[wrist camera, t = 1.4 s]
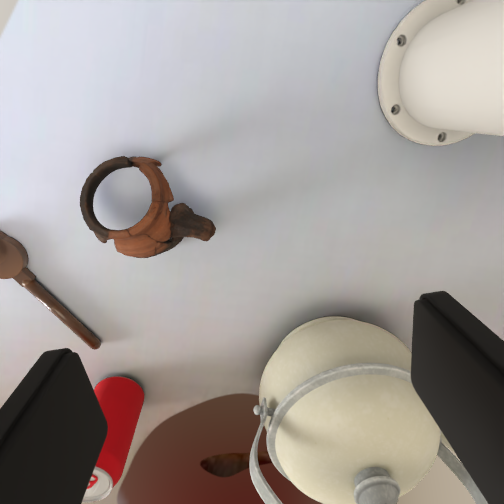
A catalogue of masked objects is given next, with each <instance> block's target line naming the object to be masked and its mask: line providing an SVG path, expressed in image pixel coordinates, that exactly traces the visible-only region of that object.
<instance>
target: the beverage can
mask: <svg viewBox="0 0 504 504" xmlns="http://www.w3.org/2000/svg"><path fill="white" fill-rule="evenodd" d="M94 392H95V395H96V397H97V399H98V402H99V404H100V406H101V409H102V411H103V413H104V416H105V418H106V421H107V424H108V432H107V437H106V439H105V442H104V445H103V447H102V450H101V453H100V455H99V458H98V461H97V463H96V466H95V468H94V471H93V474H92V476H91V479H90V482H89V484H88V487H87V489H86V492H85V495H84V497H83V500H82V502H96V501H99V500H102V499H104V498H105V497H107V496H108V495H109V494H110V492H111V490H112V488H113V487H114V486H115V485H116V483H117V482H118V481H119V479H120V478H121V476H122V473H123V469H124V466H125V463H126V459H127V456H128V452H129V449H130V446H131V442H132V439H133V436H134V432H135V429H136V425H137V422H138V419H139V415H140V412H141V409H142V405H143V402H144V392H143V390H142V388H141V387H140V386H139V385H138V384H137V383H136V382H135V381H133V380H131V379H129V378H126V377H120V376H114V377H109V378H106V379H103V380H102V381H100V382H99V383H98V384H97V385H96V387H95V389H94Z"/></svg>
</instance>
